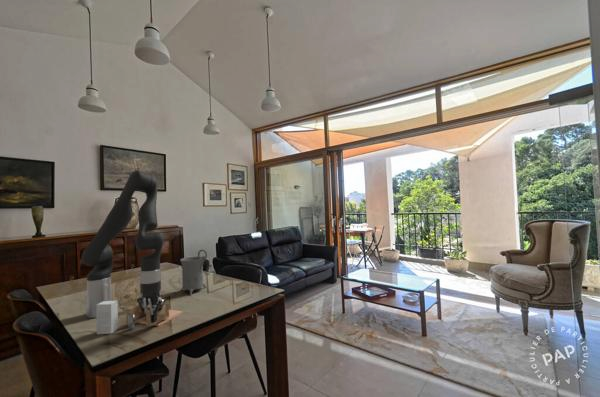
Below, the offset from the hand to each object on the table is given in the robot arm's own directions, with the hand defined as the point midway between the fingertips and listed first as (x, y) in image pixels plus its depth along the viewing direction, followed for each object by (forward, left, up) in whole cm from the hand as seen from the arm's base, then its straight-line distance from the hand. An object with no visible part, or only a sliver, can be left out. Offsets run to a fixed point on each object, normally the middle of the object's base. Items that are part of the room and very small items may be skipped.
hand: (151, 321), depth 110 cm
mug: (-16, +46, -3) cm, 49 cm away
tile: (-6, +10, -3) cm, 12 cm away
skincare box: (-16, -7, -3) cm, 17 cm away
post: (-8, -2, -3) cm, 9 cm away
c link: (-5, +3, -1) cm, 7 cm away
